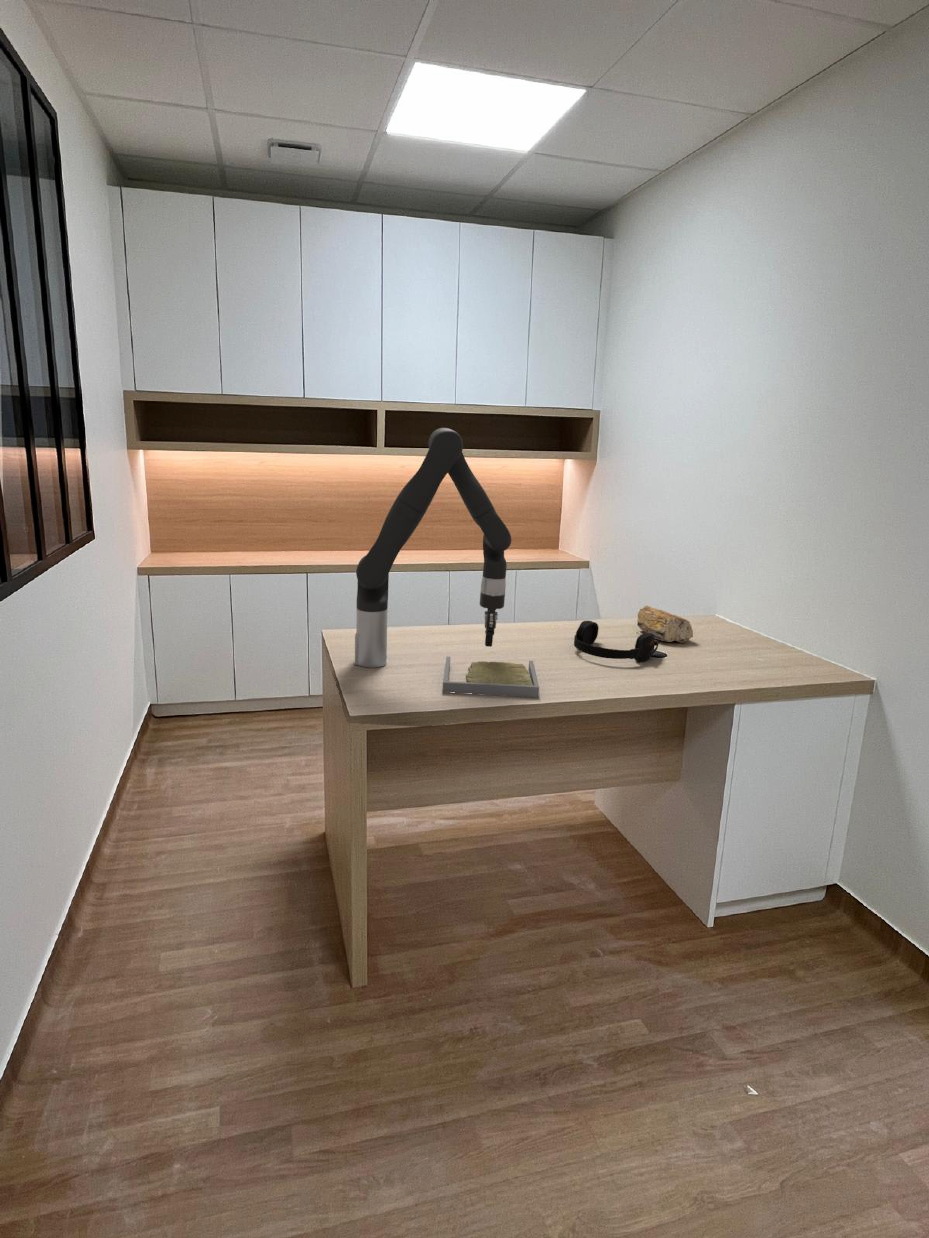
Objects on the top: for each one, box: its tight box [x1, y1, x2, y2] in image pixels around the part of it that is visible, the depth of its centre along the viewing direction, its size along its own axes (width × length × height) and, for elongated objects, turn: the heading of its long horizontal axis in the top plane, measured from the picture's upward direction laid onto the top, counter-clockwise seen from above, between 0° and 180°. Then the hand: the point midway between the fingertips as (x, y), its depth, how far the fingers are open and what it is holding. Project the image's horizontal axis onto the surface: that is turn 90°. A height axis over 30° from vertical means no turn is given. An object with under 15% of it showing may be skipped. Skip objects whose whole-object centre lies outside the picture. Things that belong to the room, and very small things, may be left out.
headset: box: [573, 620, 660, 663], centre depth 245 cm, size 28×26×9 cm
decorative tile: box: [465, 661, 533, 686], centre depth 214 cm, size 19×20×4 cm
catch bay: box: [442, 656, 540, 698], centre depth 215 cm, size 26×23×3 cm
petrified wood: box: [636, 605, 694, 644], centre depth 269 cm, size 19×13×10 cm
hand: (488, 645), depth 230 cm, fingers closed
